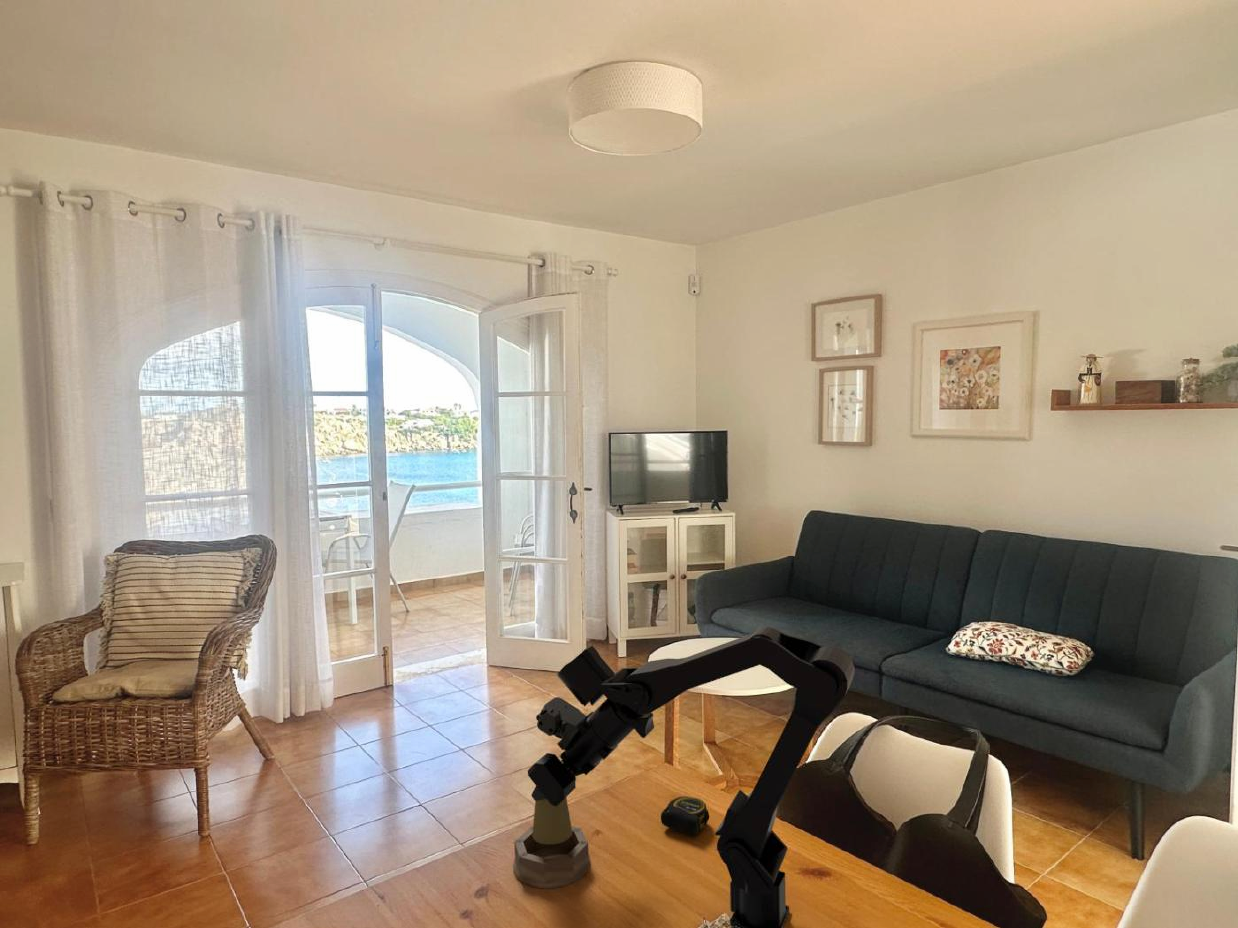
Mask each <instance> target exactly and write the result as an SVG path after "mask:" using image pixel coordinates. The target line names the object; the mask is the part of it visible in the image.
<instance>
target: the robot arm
mask: <svg viewBox="0 0 1238 928" xmlns="http://www.w3.org/2000/svg"><path fill="white" fill-rule="evenodd" d="M757 666H761V667H763V668H765V669H768V670H769V671H771V672H772V673H773V674H774V675H775V676H777V677H778V678H779V679H781V680H782V681H783V682H784V683H786V685H789V686H791V687H793V688H794V689H796V690H795V694H794V699H793V705H792V710H791V714H790V716H789V718H788V720H787V722H786V724H785V726H784V728H783V730H782V731H781V734H780V735H779V737H778V739H777V742H776V744H775V746H774V748H773V749H772V752H771V753H770V756H769V758H768V760H767V761H766V764H765V766H764V767H763V770H762V771H761V773H760V776H759V778H758V780H757V781H756V783H755V786H754V788H753V789H752V791H750V793H749V794H748V795H747V794H746V793H745V792H744V791H742V789H739V790H738V791H737V793H736V794H735V796H734V798H733V799H732V802H730V804H729V806H728V808H727V810H726V813H725V816H724V818H723V820H722V821H721V823H720V824H719V825H718V828H717V829H716V831H715V833H714V834H715V836H718V837H719V838H718V839H717V843H716V851H717V852H718V856H719V857H720V859H721V860H722V862H723V863H724V864H725V865H726V868H727V871H728V873H729V877H730V879H731V880H730V882H729V894H730V895H729V898H730V899H729V901H730V904H729V906H730V912H731V913H732V915H731V917H730V919H729V924H730V926H732V925H734V926H733V927H735V926H737V927H736V928H738V927H740V928H783V927H784V926H785V925H784V924H785V922H786V920H787V918H788V916H789V913H790V906H789V905H786V903H787V902H786V872H785V871H783V870H782V871H781V870H780V869H781V867H782V864H783V862H784V860H785V858H786V855H787V852H788V846H787V845H786V844H785V843H784V842H783V841H782V840H781V838H780V837H779V836H778V835H777V834H776V833H775V831H774V830H773V829H774V825H775V821H776V818H777V811H778V807H779V804H780V802H781V800H782V798H783V796H784V794H785V792H786V791H787V788H788V786H789V785H790V782H791V780H792V778H793V777H794V775H795V773H796V771H797V768H798V767H799V765H800V763H801V761H802V759H803V757H804V756H805V753H806V752H807V749H808V747H809V745H810V744H811V742H812V739H813V737H814V736H815V734H816V732H817V730H818V729H819V728H820V727H821V726H822V725H823V723H824V722H825V721H826V720H827V719H828V718H829V717H830V716H831V715H832V714H833V712H834V711H835V710H836V708H838V706H839V705H840V704H841V702H842V701H844V698H845V697H846V695H847V693H848V690H849V689H850V686H851V684H852V681H853V679H854V676H855V672H856V671H855V670H856V669H855V668H856V667H855V665H854V663H853V659H852V658H851V657H850V655H849V654H848V653H847V652H846V651H844V650H843V649H841V648H839V647H836V646H831V645H826V646H823V645H821V644H819V643H816V642H814V641H812V640H810V639H806V638H802V637H798V636H796V635H795V636H794V635H791V634H787V633H784V632H783V631H780V630H778V629H776V628H773V627H770V626H764V627H761V628H759V629H758V630H756V631H755V632H753V633H749V634H746V635H744V636H742V637H739V638H736V639H734V640H731V641H728V642H725V643H722V644H720V645H717V646H714V647H711V648H707V649H705V650H703V651H700V652H698V653H694V654H692V655H689V656H686V657H681V658H663V659H655V660H650V661H647V662H644V663H643V664H642V665H640V666H639V667H635V666H634V667H622V668H620V669H619V670H618V671H616V672H615V671H614V670H613V669H612V668H611V667H610V666H609V665H608V664H607V662H606V661H605V660H604V659H603V657H601V655H600V654H599V651H598V650H597V649H596V648H595V646H594V645H589V646H588V647H586V648H585V649H584V650H582V652H581V653H579V654H578V655H577V656H575V657H574V658H573V659H572V660H571V661H569V662H568V663H566V664H565V665H564V666H563V667H562V668H561V669H560V670H559V671H558V673H557V674H556V675H557V677H558V678H559V680H560V681H561V682H562V683H563V684H564V685H565V687H566V688H567V689H568V690H569V691H570V693H572V695H573V696H574V697H575V699H577V702H579V703H580V704H581V706H583V707H586V706H587V705H588V704H590V705H591V706H592V707H593V706H595V705H596V704H597V703H598V702H599V701H600V700H601V699H602V698H603V697H605V698H606V699H605V700H604V701H603V702H602V703H601V704H600V705H598V707H596V709H595V710H594V711H591V712H590V713H588V715H586V714H584V713H583V712H582V711H581V710H580V709H579V708H578V707H576V706H574V705H573V704H571V703H570V702H568V701H566V700H565V699H563V698H562V697H557V696H555V697H553V698H552V699H551V700H549V701H548V702H547V703H545V704H544V705H543V707H542V709H541V711H540V712H539V713H538V714H537V715H536V716H535V719H536V721H537V722H536V723H537V724H536V726H537V729H538V730H540V731H541V732H543V733H544V734H546V735H547V736H548V737H551V736H554V737H555V738H557V739H560V740H559V741H558V742H557V746H558V747H559V748H560V749H561V751H562V753H560V755H559V757H558V756H557V755H556V754H555V753H549V752H547V753H545V754H544V755H543V756H541V757H540V758H539V759H538V760H537V761H536V762H534V763H533V764H532V766H530V768H528V770H527V776H528V778H529V779H530V780H531V781H532V783H533V784H534V785H535V787H534V789H533V791H532V793H531V795H530V796H531V798H532V799H533V800H534V802H535V801H538V800H544V799H547V800H548V801H549V802H550V804H551V805H553V806H558V805H559V804H560V803H561V802H562V801H563V800H564V799H565V798H567V797H568V796H569V795H570V794H571V793H572V792H573V791H574V790H575V789H576V781H577V777H578V776H581V775H585V776H587V775H588V774H589V773H590V772H592V771H594V769H596V768H597V767H598V765H600V764H601V761H604V760H605V759H607V758H608V757H609V756H610V755H611V754H612V753H613V752H614V751H615V750H616V749H617V748H618V746H619V744H620V743H622V742H623V740H625V739H626V737H628V736H629V735H630V734H631V733H632V732H633V731H635V732H636V733H637V734H638V736H640V738H641V739H645V738H646V737H647V736H648V735H649V734H650V733H651V732H652V731H654V729H655V723H654V719H653V718H654V713H653V712H654V711H656V710H659V708H661V707H663V706H665V705H666V704H668V703H670V702H671V701H673V700H674V699H675V698H677V697H678V696H680V695H682V694H683V693H685V692H687V691H688V690H691V689H694V688H697V687H699V686H702V685H706V684H710V683H711V682H714V681H717V680H721V679H723V678H726V677H729V676H732V675H735V674H738V673H741V672H743V671H746V670H749V669H752V668H755V667H757ZM560 759H561V760H560ZM561 761H562V762H563V763H562V762H561Z"/></svg>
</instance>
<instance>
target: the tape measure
mask: <svg viewBox="0 0 1238 928" xmlns="http://www.w3.org/2000/svg"><path fill="white" fill-rule="evenodd" d="M709 820H710V813H709V810H708V809H707V806H706V802H704V801H703V800H701V799H699V798H697V797H692V796H681V797H680V796H679V797H676V798H674V799H672V800H670V802H669V803H668V804H667V806H666V807H665V808H664V809H663V810H662V811H661V814H660V822H661V824H662V825H663V826H664V827H667V828H669V829H673V830H676V831H678V832H682V833H685V834H688V835H690V836H694V837H697V836H698V835H699V834H700V832H701V831H702V830H704V829H705V828H706V827H707V824H708V822H709Z"/></svg>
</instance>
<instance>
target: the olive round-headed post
mask: <svg viewBox="0 0 1238 928" xmlns="http://www.w3.org/2000/svg"><path fill="white" fill-rule="evenodd" d="M560 761H561V760H560ZM561 762H562V761H561ZM562 763H563V762H562ZM571 826H572V821H571V817H570V810H569V805H568V798H567V797H566V798H565V799H564V800H563V801H562V802H561V803H560V804H559V805H558V806H553V805H551V804H550V802H549V801H548V800H547V799H544V800H538V801H535V800H534V813H533V823H532V827H533V833H532V836H533V839H534V840H535V841H537V842H539V843H541V844H547V845H548V844H557V843H561V842H564V841H566V840H567V839H568V838H570V836H571V835H572V827H571Z"/></svg>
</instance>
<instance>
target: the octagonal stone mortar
mask: <svg viewBox="0 0 1238 928" xmlns="http://www.w3.org/2000/svg"><path fill="white" fill-rule="evenodd" d="M571 827H572V835H571V836H570V838H568V839H567V840H566V841H564V842H561V843H557V844H548V845H547V844H541V843H539V842H537V841H535V840H534V839H533V836H532V833H533V826H530V827H528V829H527V830H526V831H525V832H523V833H522V834H521V835H519V837H517V839H515V840H514V860H513V865H512V867H513V874H514V876H515V878H516V879H517V880H518V881H519V882H520V883H522V884H524V885H526V886H528V887H532V888H536V889H542V890H544V889H546V890H549V889H551V890H552V889H558V888H563V887H567V886H569V885H572V884H574V883H576V882H578V881H579V880H581V879H582V878H584V876H585V875H586V874H587V873H588V872H589V869H590V867H591V858H590V857H591V856H590V854H589V853H590V852H589V842H588V840H587V838H586V836H585V834H584V832H583V830H582V828H581V827H577V826H573V825H571Z"/></svg>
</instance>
